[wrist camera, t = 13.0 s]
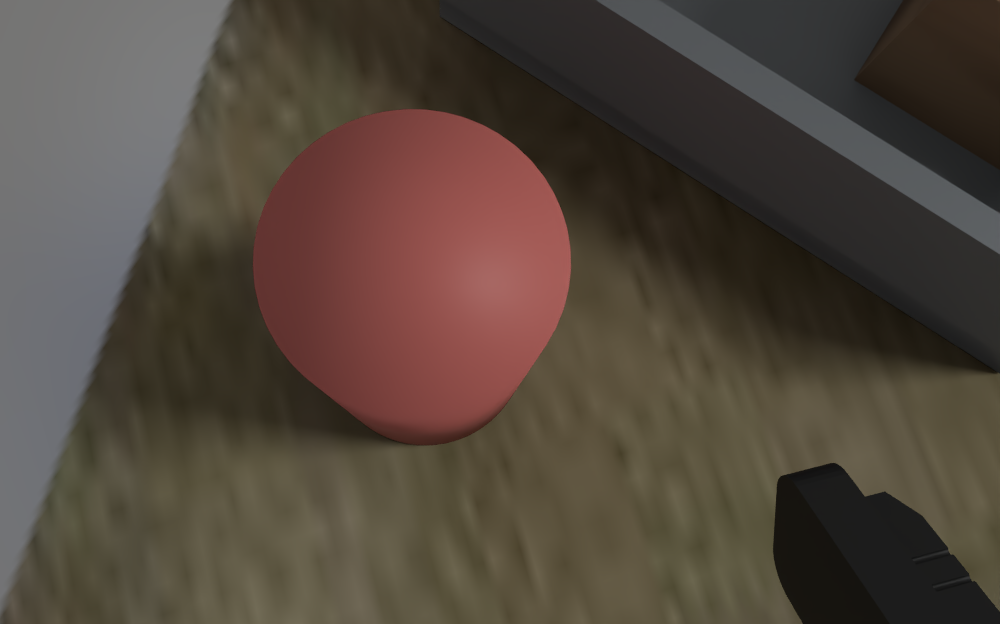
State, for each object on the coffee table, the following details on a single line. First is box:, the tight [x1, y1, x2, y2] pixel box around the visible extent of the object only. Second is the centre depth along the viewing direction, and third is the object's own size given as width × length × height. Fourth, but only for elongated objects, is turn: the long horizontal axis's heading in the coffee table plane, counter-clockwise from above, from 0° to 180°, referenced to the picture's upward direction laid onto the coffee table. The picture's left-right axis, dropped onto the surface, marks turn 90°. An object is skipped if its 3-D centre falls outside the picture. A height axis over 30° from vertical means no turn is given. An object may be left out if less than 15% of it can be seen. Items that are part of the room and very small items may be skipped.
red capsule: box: [253, 109, 571, 445], centre depth 19 cm, size 5×5×9 cm
